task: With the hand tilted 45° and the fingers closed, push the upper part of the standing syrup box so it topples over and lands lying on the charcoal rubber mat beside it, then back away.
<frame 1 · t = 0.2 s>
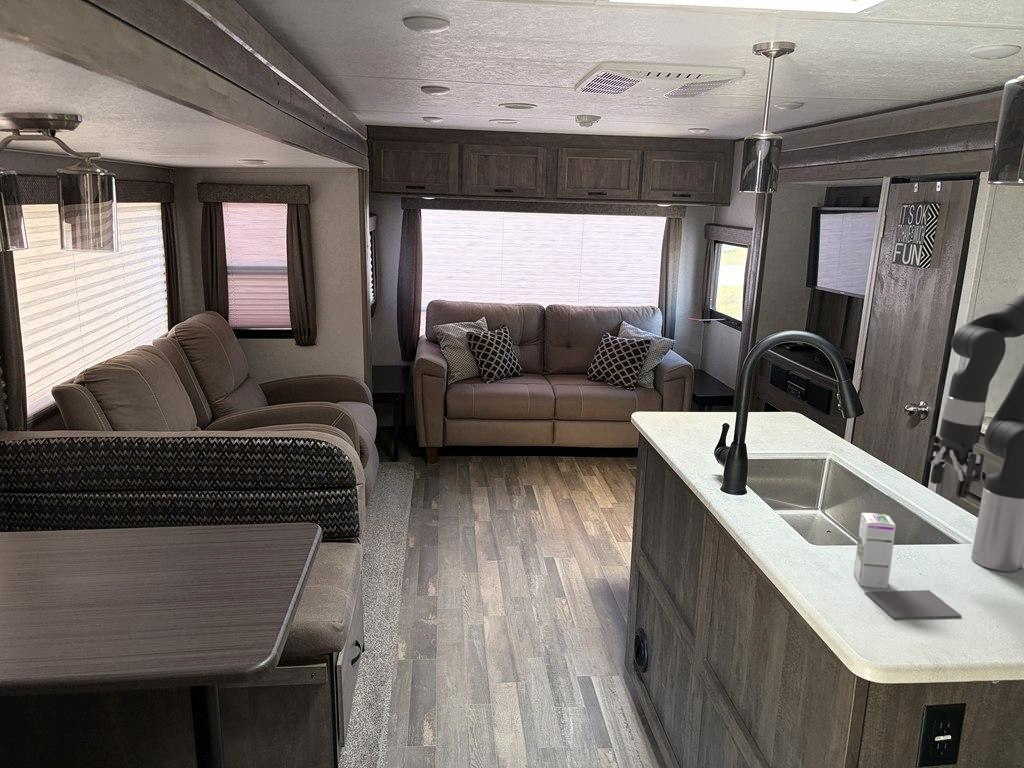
hand: (947, 489, 166), 18 cm above the kitchen counter, tool pointing down, fingers open, 8 cm apart
syrup box: (869, 582, 161), on the kitchen counter
mat: (911, 605, 152), on the kitchen counter
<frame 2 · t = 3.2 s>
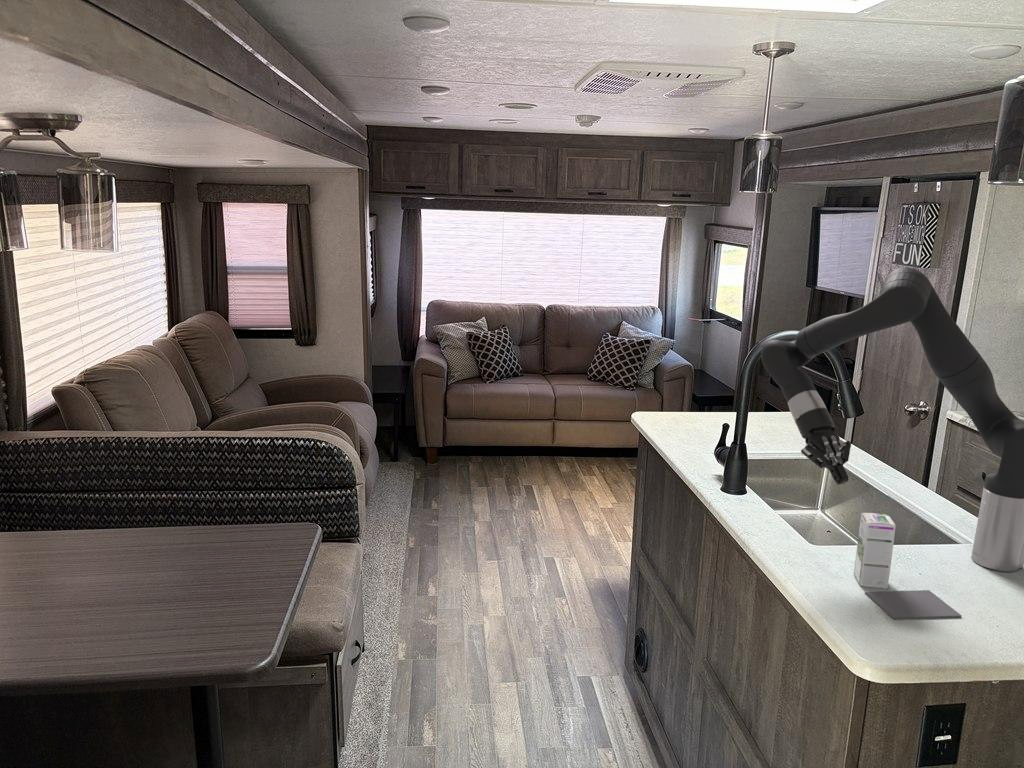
hand: (843, 482, 166), 19 cm above the kitchen counter, tool tilted 45°, fingers closed
nothing on the kitchen counter moved.
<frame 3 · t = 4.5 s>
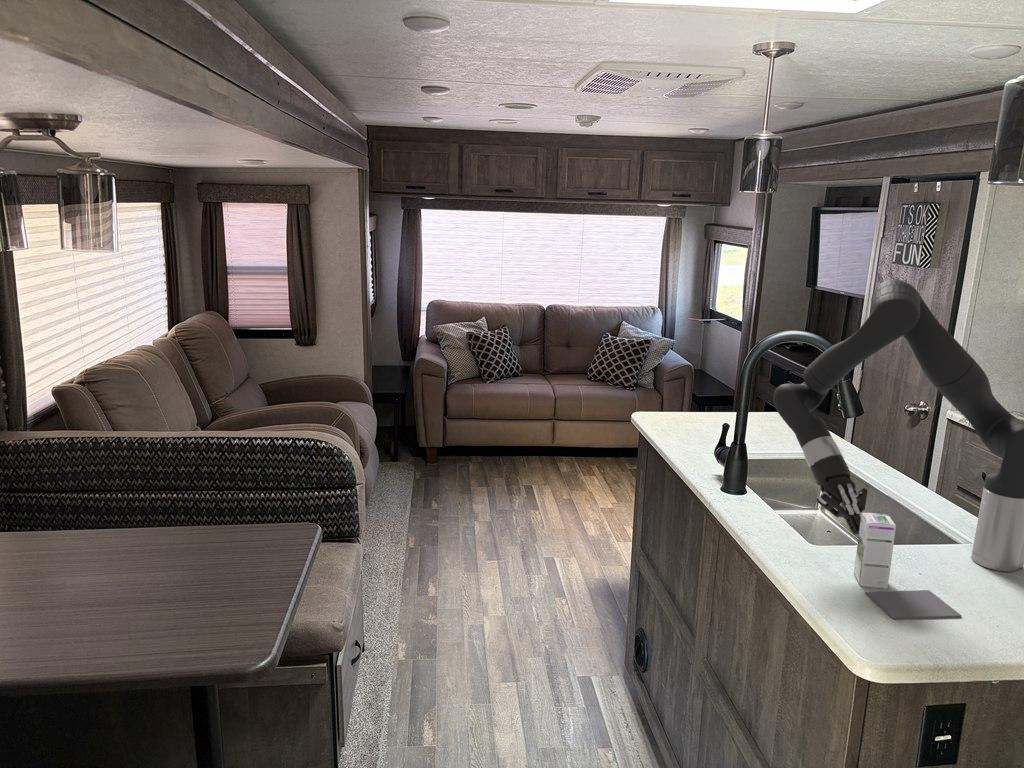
hand: (859, 532, 163), 9 cm above the kitchen counter, tool tilted 45°, fingers closed
syrup box: (869, 582, 161), on the kitchen counter, touching gripper
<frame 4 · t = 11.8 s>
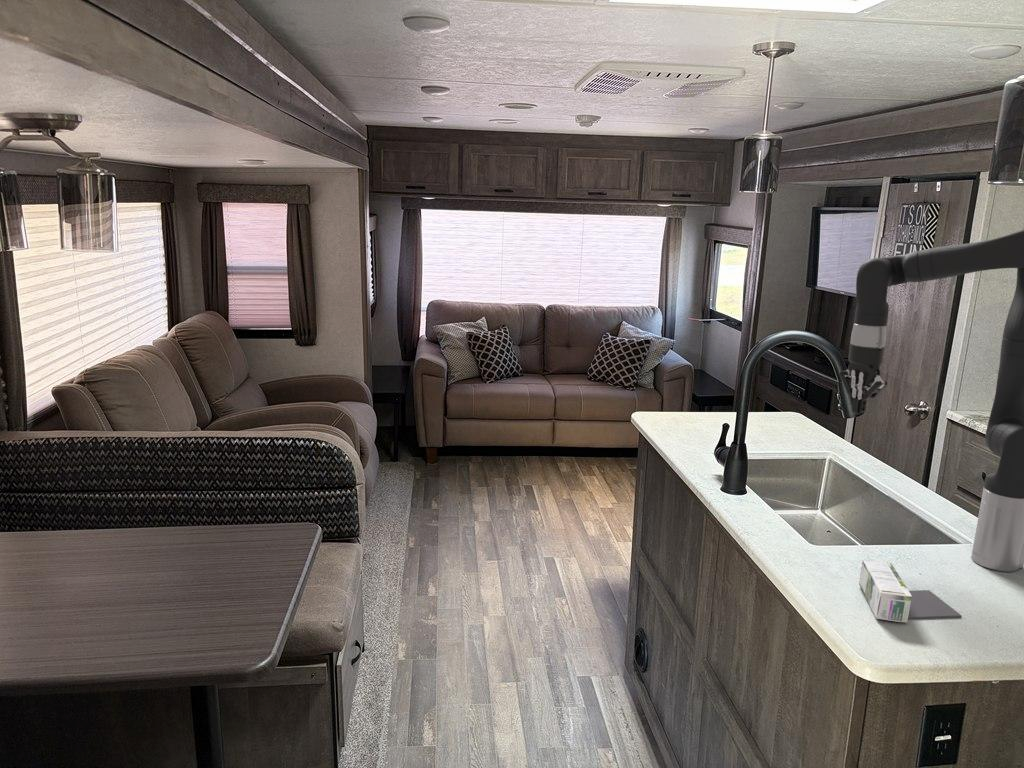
hand: (858, 413, 184), 29 cm above the kitchen counter, tool pointing down, fingers closed
syrup box: (873, 573, 158), point 3 cm above the kitchen counter, touching mat
at the end: syrup box tilted 90°; syrup box 8.6 cm from the mat (horizontally); the gripper is holding nothing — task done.
